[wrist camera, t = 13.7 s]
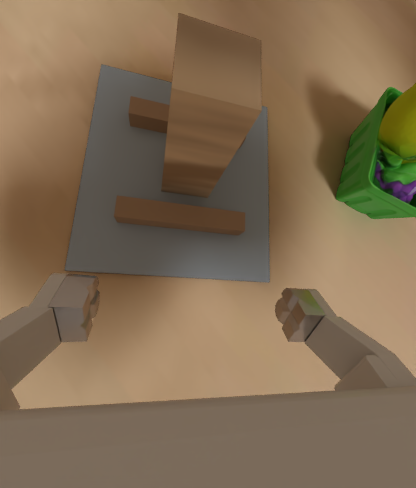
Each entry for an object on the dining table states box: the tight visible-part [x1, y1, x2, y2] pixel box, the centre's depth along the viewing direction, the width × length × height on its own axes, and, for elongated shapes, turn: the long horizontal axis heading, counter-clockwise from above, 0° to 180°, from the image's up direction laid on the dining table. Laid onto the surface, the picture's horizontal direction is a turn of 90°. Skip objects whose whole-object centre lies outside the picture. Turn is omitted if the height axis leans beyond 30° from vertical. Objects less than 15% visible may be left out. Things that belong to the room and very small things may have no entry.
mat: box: [65, 64, 270, 282], centre depth 19 cm, size 18×16×2 cm
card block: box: [161, 13, 262, 198], centre depth 15 cm, size 4×4×10 cm
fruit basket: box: [336, 83, 416, 219], centre depth 19 cm, size 11×9×11 cm
